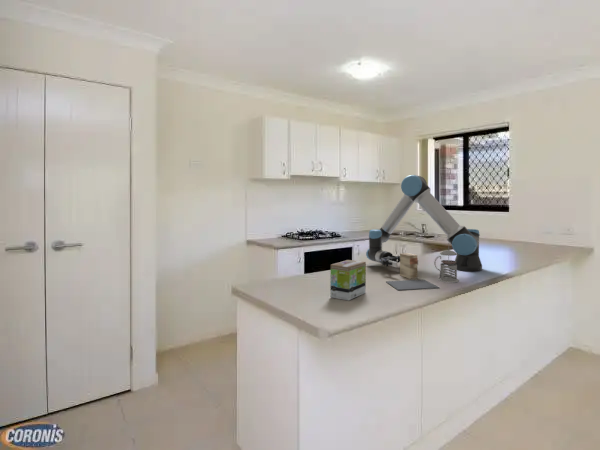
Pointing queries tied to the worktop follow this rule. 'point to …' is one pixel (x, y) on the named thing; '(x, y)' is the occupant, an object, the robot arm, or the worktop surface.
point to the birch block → (408, 265)
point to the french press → (450, 265)
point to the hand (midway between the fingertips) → (407, 263)
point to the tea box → (348, 279)
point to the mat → (412, 284)
